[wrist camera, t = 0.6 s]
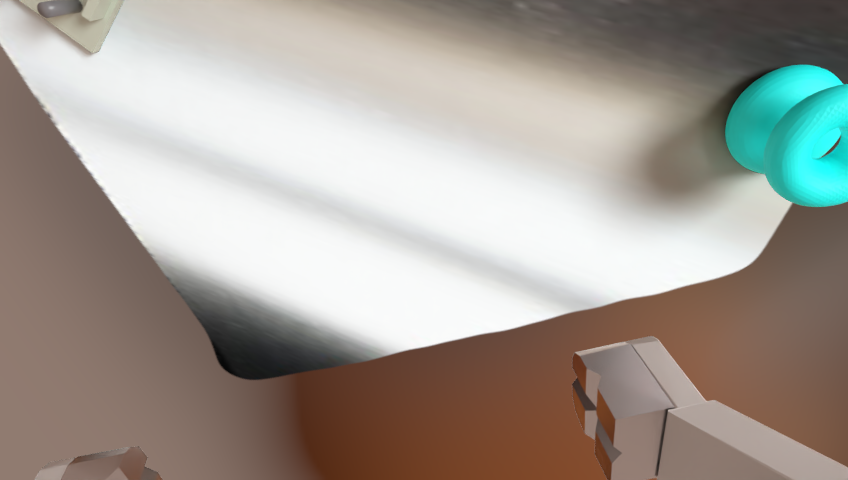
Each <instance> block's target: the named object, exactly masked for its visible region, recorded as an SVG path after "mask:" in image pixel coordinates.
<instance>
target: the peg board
mask: <svg viewBox="0 0 848 480" xmlns="http://www.w3.org/2000/svg"><path fill="white" fill-rule="evenodd" d="M19 1H21V2H22V3H23V4H25V5H26V6H27V7H29V8H30V9H32V10H33V11H34V12H36V13H37V14H38V15H40V16H41V17H43V18H44V19H45V20H47V21H48V22H50V23H51V24H52V25H54V26H55V27H56V28H58V29H59V30H61V31H62V32H63V33H65V34H66V35H67V36H69V37H70V38H72V39H73V40H74V41H76V42H77V43H79V44H80V45H81V46H83V47H84V48H85V49H87V50H88V51H90V52H91V53H96V52H99V50H100V48H101V46H102V44H103V42H104V40H105V38H106V36H107V34H108V32H109V30H110V28H111V26H112V24H113V21H114V19H115V17H116V15H117V13H118V11H119V9H120V7H121V5H122V3H123V1H124V0H19Z"/></svg>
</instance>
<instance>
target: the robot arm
mask: <svg viewBox="0 0 848 480" xmlns="http://www.w3.org/2000/svg"><path fill="white" fill-rule="evenodd" d="M572 368H573V370H574V372H575V374H576V376H577V379H576V380H575V381H574V382H573V384H572V397H573V402H574V407H575V411H576V414H577V417H578V419H579V422H580V424H581V426H582V428H583V431H584V433H585V434H586V435H588V436H590V437H591V438H593V439H594V440H595V456H596V458H597V460H598V462H599V464H600V466H601V468H602V470H603V472H604V474H605V476H606V478H607V480H647V479H651V478H657V480H848V467H846V466H844V465H842V464H840V463H838V462H836V461H834V460H832V459H830V458H828V457H826V456H824V455H822V454H820V453H818V452H816V451H814V450H812V449H810V448H808V447H806V446H804V445H802V444H800V443H798V442H796V441H794V440H792V439H791V438H789V437H787V436H785V435H783V434H780V433H779V432H777V431H775V430H773V429H771V428H769V427H767V426H765V425H763V424H761V423H759V422H757V421H755V420H753V419H751V418H749V417H747V416H745V415H743V414H741V413H739V412H737V411H735V410H733V409H731V408H729V407H727V406H725V405H723V404H721V403H719V402H717V401H716V400H712V401H706V400H705V399H704V398H703V397H702V395H701V394H700V393H699V391H698V390H697V389H696V388H695V386H694V385H693V384H692V383H691V381H690V380H689V379H688V377H687V376H686V375H685V373H684V372H683V371H682V370H681V368H680V367H679V366H678V365H677V363H676V362H675V361H674V359H673V358H672V357H671V355H670V354H669V353H668V352H667V350H666V349H665V348H664V347H663V345H662V344H661V343H660V341H659V340H658V339H657V338H655V337H653V336H649V337H645V338H640V339H635V340H631V341H627V342H621V343H616V344H612V345H608V346H603V347H598V348H594V349H589V350H585V351H580V352H576V353H574V355H573V358H572ZM147 458H148V457H147V456H146V455H145V453H144V452H143V451H142V449H141V448H140V447H139V446H137V447H128V448H122V449H117V450H111V451H106V452H101V453H95V454H90V455H84V456H78V457H76V458H70V459H65V460H59V461H54V462H49V463H48V464H47V465H45V466H44V467H43V468H42V469H41V470H40V471H39V472H38V474H37V476H36V478H35V480H163V479H162V478H161V476H160V475H159V473H158V472H156V471H154V470H151V469H149V468H146V467H145V464H146V461H147Z"/></svg>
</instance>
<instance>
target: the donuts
mask: <svg viewBox="0 0 848 480" xmlns="http://www.w3.org/2000/svg"><path fill="white" fill-rule="evenodd" d="M840 135H841V139H840V142H839V144H838V146H837V147H836V148H835V149H834V150H833V151H832V152H831V153H830V154H828V155H826V156H824V157H822V156H823V155H824V154H825V153H826V152H827V151H828V150H829V149H830V148H831V147H832V146H833V145H834V144H835V143H836V141H837V140H838V139H839V137H840ZM725 138H726V143H727V147H728V149H729V151H730V153H731V155H732V156H733V158H734V159H735V160H736V161H737V162H738V163H739V164H741V165H742V166H743V167H745V168H747V169H749V170H751V171H754V172H757V173H762V174H765V175H766V178H767V180H768V182H769V183H770V185H771V187H772V188H773V189H774V190H775V191H776V192H777V193H778V194H779V195H780V196H782V197H783V198H785V199H786V200H788V201H790V202H793V203H796V204H799V205H803V206H810V207H824V206H832V205H837V204H841V203H845V202H848V84H843V83H842V82H841V81H840V80H839V79H838V78H837V77H836V76H835V75H834V74H833V73H831V72H829V71H828V70H826V69H823V68H820V67H817V66H812V65H792V66H787V67H783V68H779V69H776V70H774V71H772V72H769V73H767V74H766V75H764V76H762V77H760V78H759V79H757V80H756V81H755V82H753V83H752V84H751V85H750V86H749V87H747V88H746V89H745V90H744V91H743V93H742V94H741V95H740V96H739V97H738V99H737V100H736V102H735V103H734V105H733V107H732V108H731V111H730V113H729V116H728V119H727V122H726V128H725ZM820 157H822V158H820Z"/></svg>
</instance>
